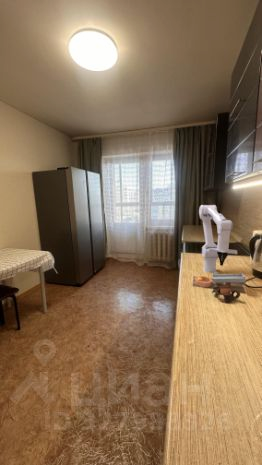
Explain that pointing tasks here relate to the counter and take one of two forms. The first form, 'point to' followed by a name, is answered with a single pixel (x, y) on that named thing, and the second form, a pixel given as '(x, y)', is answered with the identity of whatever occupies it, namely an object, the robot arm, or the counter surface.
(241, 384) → the counter surface
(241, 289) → the base
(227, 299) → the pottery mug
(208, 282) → the orange bowl
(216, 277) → the lever
